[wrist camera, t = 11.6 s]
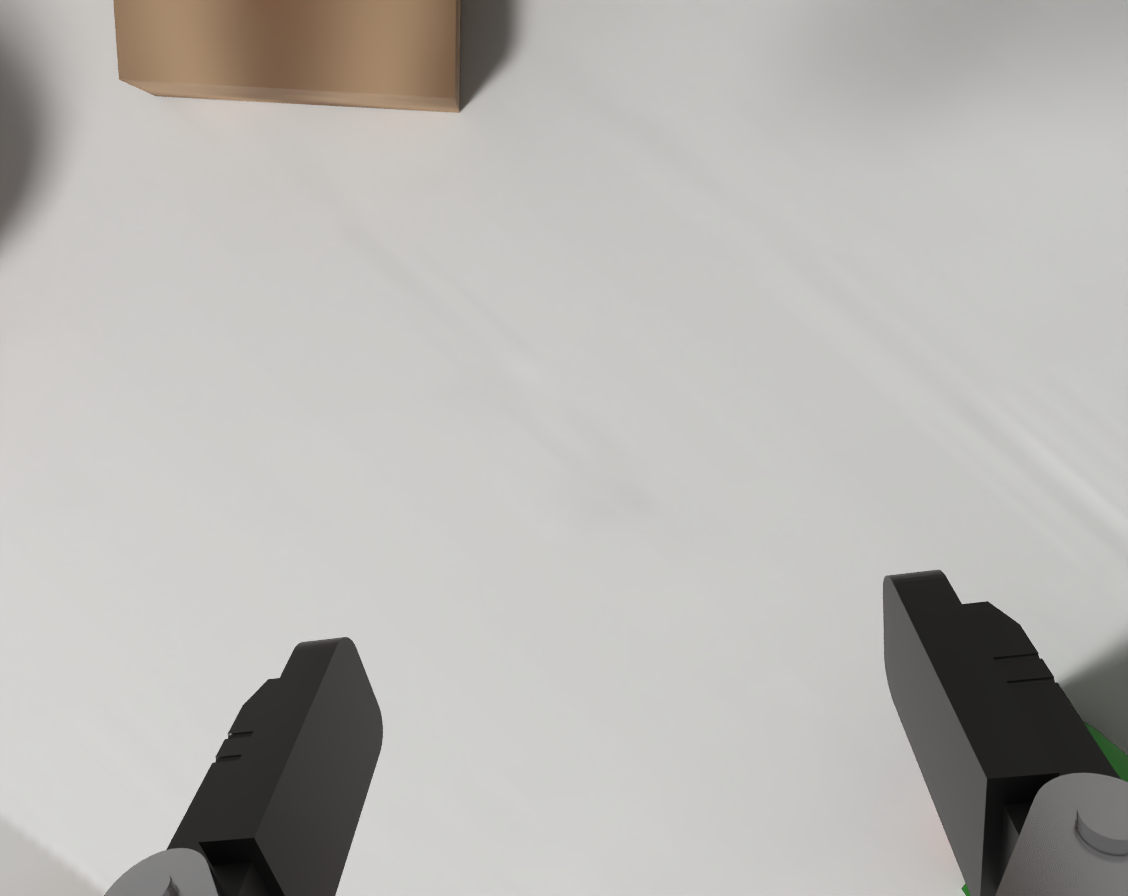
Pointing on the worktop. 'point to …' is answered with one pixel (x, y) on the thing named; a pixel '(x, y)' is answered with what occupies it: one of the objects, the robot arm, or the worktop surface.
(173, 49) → the step
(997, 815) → the robot arm
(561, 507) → the worktop surface
